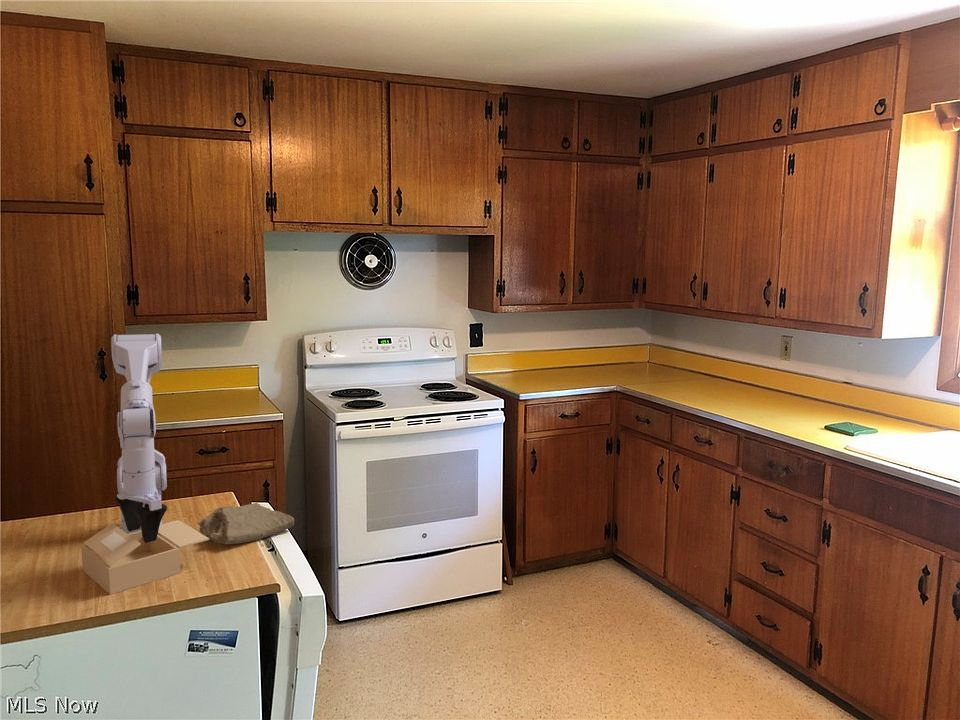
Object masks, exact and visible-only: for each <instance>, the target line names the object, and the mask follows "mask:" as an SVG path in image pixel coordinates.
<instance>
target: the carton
mask: <svg viewBox="0 0 960 720" xmlns="http://www.w3.org/2000/svg"><path fill="white" fill-rule="evenodd" d="M128 535H130V536H131V537H133V538H134V539H135V540H137V541H138V542H140V543H141V545H140V546H138V547H137V548H135V549H134V550H133V551H131V552H130V553H129V554H127V555H126V556H124V557H123V558H122V559H120V560H119V561H117V562H116V563H115V564H113V565H112V566H111V565H110V564H109V563H108V562H106V561H105V560H104V559H103V558H102V557H100V556H99V555H98V554H97V553H95V552H94V551H93V550H92V549H90V548H89V547H88V546H87V545H85V544H83V545H81V546H80V549H81V564H82V571H83V572H84V573H85V574H86V575H88V577H90V578H91V579H92V580H93V581H94V582H95V583H97V584H98V585H99V586H100V587H101V588H102V589H103V590H104V591H105V592H107V593H108V595H110V596H111V595H114V594H117V593H120V592H124V591H127V590H130V589H133V588H137V587H139V586H143V585H146V584H149V583H152V582H156V581H158V580H162V579H165V578H168V577H173V576H174V575H179V574H181V573H182V569H181V568H182V566H181V565H182V564H181V549H182V548H186V547H189V546H192V545H197V544H199V543H202V542H206V541H210V539H209V538H208V537H206V536H204V535H203V534H202V533H201V532H200V531H198V530H196V529H195V528H193V527H191V526H189V525H188V524H186V523H184V522H183V521H181V520H180V519H176V520H173V521H169V522H166V523H162V524H161V525H160V526H159V530H158V535H157V539H156V540H155V541H152V542H148V543H145V542H144V540H143V537H142V531H137V532H134V533H130V534H128Z"/></svg>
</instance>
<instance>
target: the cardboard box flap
mask: <svg viewBox="0 0 960 720" xmlns="http://www.w3.org/2000/svg"><path fill="white" fill-rule="evenodd" d="M83 545H87V546H88V547H89V548H90V549H92V550H93V551H94V552H95V553H97V554H98V555H99V556H100V557H102V558H103V559H104V560H105V561H106V562H108V563H109V564H110V565H111V566H112V565H113V564H115V563H116V562H117V561H119V560H120V559H122V558H123V557H124V556H126V555H127V554H129V553H130V552H131V551H133V550H134V549H135V548H137V547H138V546H140V545H141V543H140V542H138V541H137V540H135V539H134V538H133V537H131V536H130V535H128V534H127V533H126V532H124V531H123V530H121V529H120V528H119V526H117V525H116V524H114V523H113V522H112V523H110V524H109V525H107V526H105V528H103V529H101V530H99V531H98V532H96V533H95V534H93V536H91V537H89V538H88V539H87V540H85V541H83Z"/></svg>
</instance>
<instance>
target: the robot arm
mask: <svg viewBox="0 0 960 720" xmlns="http://www.w3.org/2000/svg"><path fill="white" fill-rule="evenodd" d="M110 345H111V347H110V349H111V359H112V360H111V361H112V363H113V368H114V369H115V373H117V374H119V375H123V376H124V377H125V379H126V382H125V383H124V384H123V385H122V386H121V389H120V412H119V411H118V412H117V417H116V419H117V433H118V438H119V443H120V449H121V456H120V457H119V459H118V460H117V469H116V483H117V485H116V486H117V492H118V494H117V495H116V497H114V501H115V502H116V504H117V505H118V507H119V509H120V524H121V525H120V526H118V527H119V528H120V529H121V530H123V531H124V532H126V533H127V534H130V533H134V532H137V531H142V537H143V540H144V542H145V543H148V542H152V541H155V540H156V539H157V535H158V530H159V526H160V525H161V524H163V518H164V515H165V514H166V512H167V510H168V506H167V505H166V504H164V503H162V491H165V490H166V489H167V487H168V481H167V464H166V457H165V456H164V454H163V453H161V452H160V451H158V450H157V449H155V437H156V432H157V431H156V430H157V427H156V425H157V424H156V423H157V422H156V412H155V411H156V410H155V408H154V403H153V398H154V397H153V387H152V385H151V384H150V382H151V380H152V377H153V375H154V374H156V373H159V372H161V368H162V360H163V359H162V358H163V355H162V336H161V334H159V333H154V334H151V333H149V334H143V333H142V334H113V335H112V336H111V339H110ZM152 431H153V434H152Z"/></svg>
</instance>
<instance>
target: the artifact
mask: <svg viewBox="0 0 960 720" xmlns="http://www.w3.org/2000/svg"><path fill="white" fill-rule="evenodd" d="M197 524H198V525H199V528H198V529H199V533H201V534H203V535H204V536H206V537H208V538H209V540H211V541H212V542H214V543H219V544H223V545H232V544H235V545H237V544H244V543H249V542H250V543H251V542H253V541H257V540H261V539H265V538H267V537H270V536H272V535H275V534H279V533H281V532H283V531H286V530H288V529H291V528H292V527H294V525H295V518H294V517H293V516H291V515H290V514H286V513H284V512H281V511H277V510H271V508H268V507H265V506H263V505H261V504H260V503H258V502H255V503H249V504H244V505H240V506H221V507H217V508H215V509H214V511H213V512H211V513H210V514H209V515H207V516H206V517H204V518H203V519H202V520H201V521H198V522H197Z"/></svg>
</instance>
